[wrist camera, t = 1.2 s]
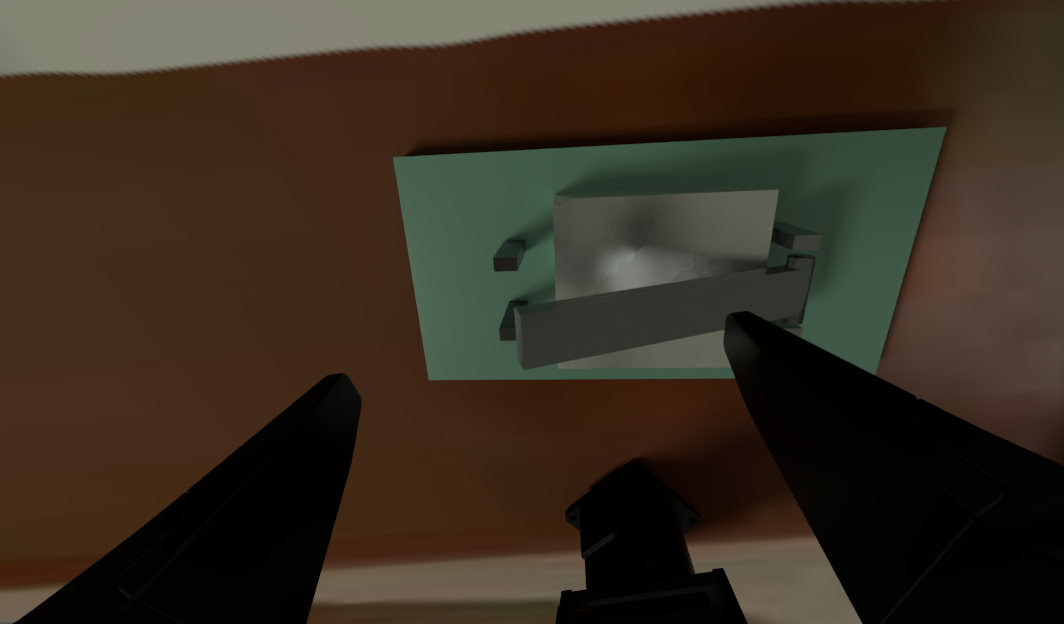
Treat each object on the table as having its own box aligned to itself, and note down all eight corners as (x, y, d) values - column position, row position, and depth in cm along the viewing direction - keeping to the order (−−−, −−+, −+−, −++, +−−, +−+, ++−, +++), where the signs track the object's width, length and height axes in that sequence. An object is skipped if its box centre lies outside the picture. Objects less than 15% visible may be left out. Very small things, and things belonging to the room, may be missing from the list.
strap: (800, 252, 17) (822, 257, 16) (788, 314, 18) (808, 322, 17) (512, 295, 14) (520, 304, 13) (517, 368, 15) (525, 381, 14)
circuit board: (923, 128, 18) (946, 126, 17) (859, 366, 22) (874, 377, 21) (402, 156, 20) (393, 157, 19) (434, 369, 25) (428, 380, 23)
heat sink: (787, 183, 18) (837, 190, 15) (761, 344, 21) (797, 380, 18) (501, 196, 19) (488, 205, 16) (512, 347, 22) (503, 382, 19)
